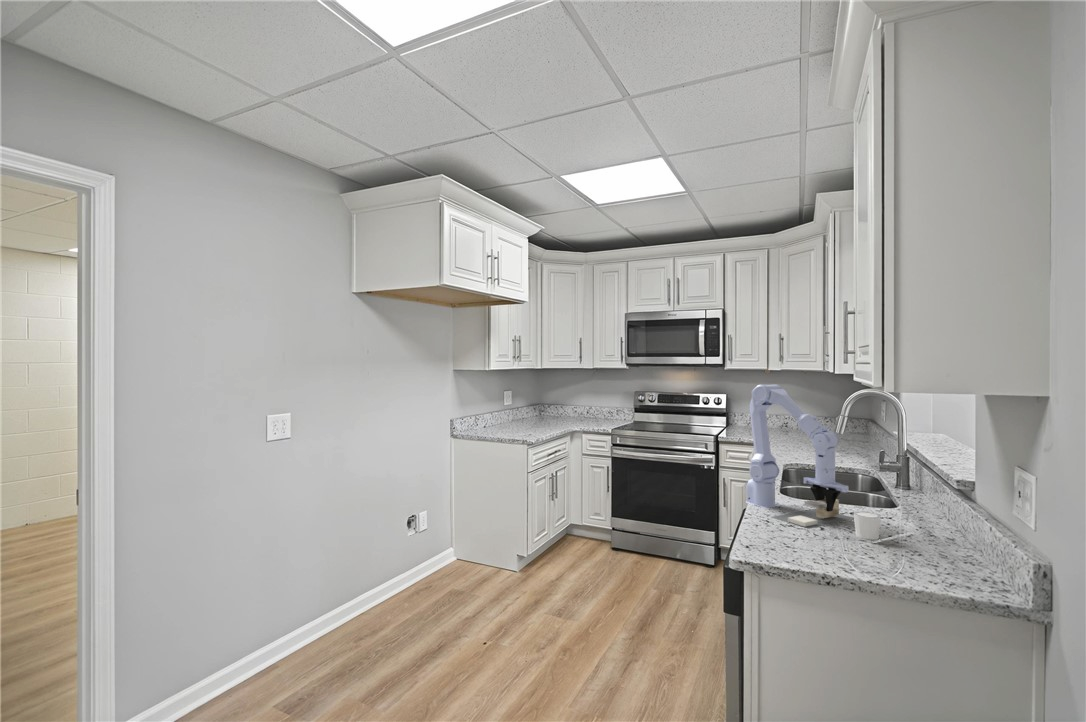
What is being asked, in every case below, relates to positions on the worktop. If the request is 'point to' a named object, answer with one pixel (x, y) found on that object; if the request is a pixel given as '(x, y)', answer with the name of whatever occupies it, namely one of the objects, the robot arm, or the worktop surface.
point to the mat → (812, 515)
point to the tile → (802, 521)
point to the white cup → (867, 525)
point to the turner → (823, 508)
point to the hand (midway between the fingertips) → (825, 509)
